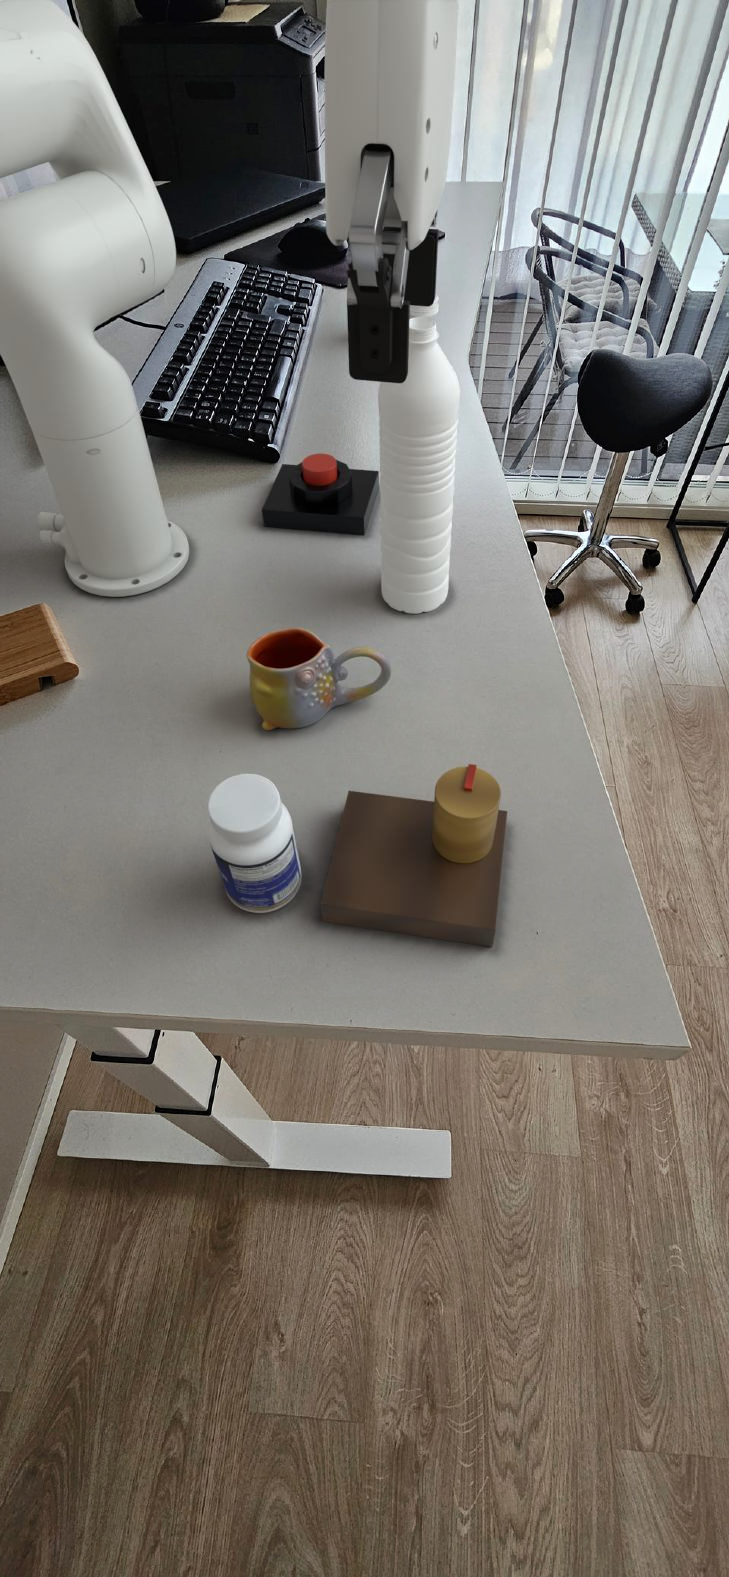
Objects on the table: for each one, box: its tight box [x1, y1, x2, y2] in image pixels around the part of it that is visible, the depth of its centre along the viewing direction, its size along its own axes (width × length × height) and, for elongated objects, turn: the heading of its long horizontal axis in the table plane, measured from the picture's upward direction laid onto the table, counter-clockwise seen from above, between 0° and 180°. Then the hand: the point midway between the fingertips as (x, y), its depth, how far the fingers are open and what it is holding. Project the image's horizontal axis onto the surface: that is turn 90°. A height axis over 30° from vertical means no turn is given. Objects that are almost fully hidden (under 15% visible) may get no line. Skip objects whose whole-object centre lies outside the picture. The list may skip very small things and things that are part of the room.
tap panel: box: [319, 790, 508, 948], centre depth 59 cm, size 12×10×2 cm
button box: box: [261, 459, 380, 537], centre depth 88 cm, size 11×9×4 cm
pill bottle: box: [207, 773, 303, 914], centre depth 56 cm, size 6×6×10 cm
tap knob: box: [432, 763, 502, 863], centre depth 56 cm, size 4×4×6 cm
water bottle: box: [377, 293, 461, 614], centre depth 70 cm, size 9×6×25 cm
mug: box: [245, 626, 392, 731], centre depth 68 cm, size 12×7×7 cm, turn 90°
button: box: [301, 453, 337, 486], centre depth 86 cm, size 4×4×2 cm
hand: (394, 339), depth 48 cm, fingers open, 9 cm apart
